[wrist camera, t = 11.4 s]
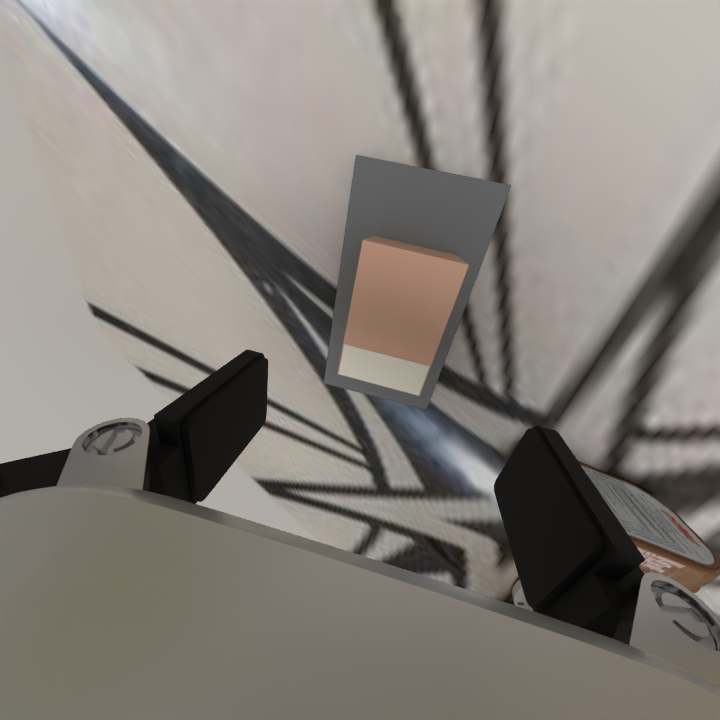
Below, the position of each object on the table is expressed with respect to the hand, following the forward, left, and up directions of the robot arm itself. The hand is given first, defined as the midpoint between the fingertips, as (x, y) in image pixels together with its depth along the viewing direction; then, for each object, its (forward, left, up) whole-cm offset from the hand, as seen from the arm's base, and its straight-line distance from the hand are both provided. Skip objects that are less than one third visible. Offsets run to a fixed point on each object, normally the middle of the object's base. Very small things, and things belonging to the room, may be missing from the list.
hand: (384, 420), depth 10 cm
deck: (0, 0, -14) cm, 14 cm away
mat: (0, 0, -14) cm, 14 cm away
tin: (-12, -21, -15) cm, 28 cm away
